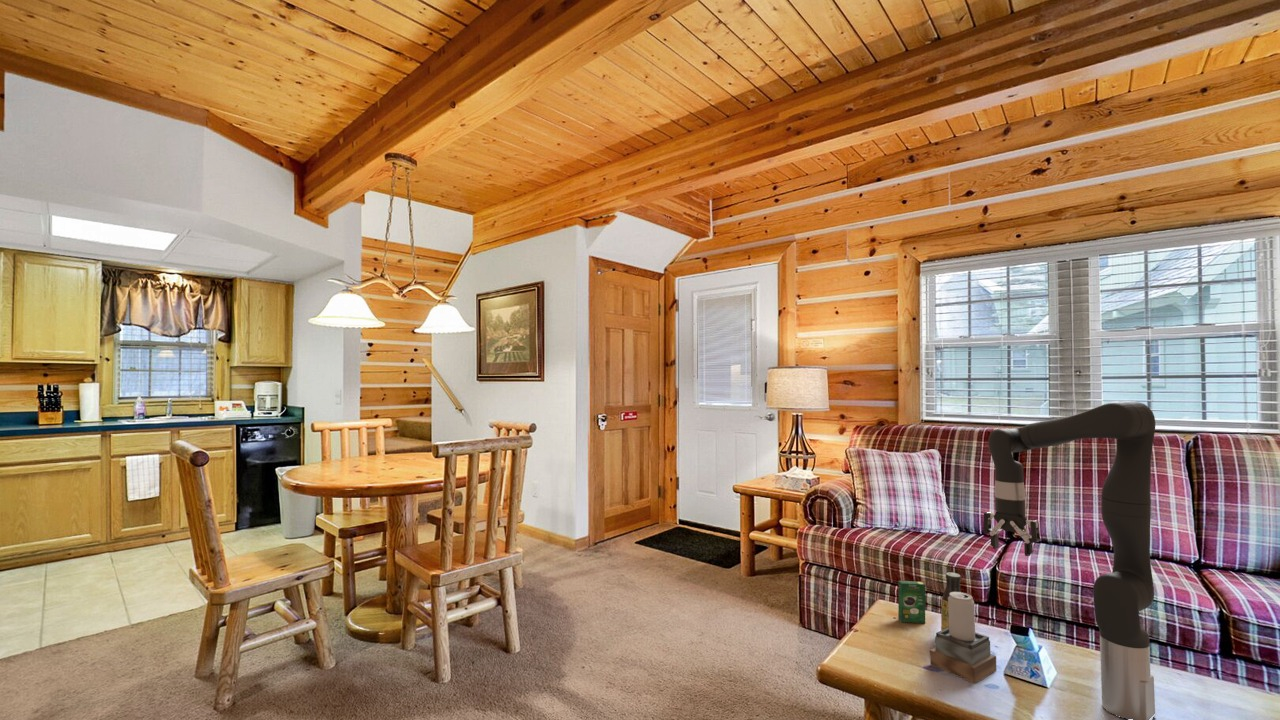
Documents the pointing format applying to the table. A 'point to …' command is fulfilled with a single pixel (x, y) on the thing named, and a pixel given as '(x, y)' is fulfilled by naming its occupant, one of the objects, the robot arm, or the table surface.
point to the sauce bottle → (951, 586)
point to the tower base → (963, 666)
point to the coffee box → (911, 602)
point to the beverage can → (961, 616)
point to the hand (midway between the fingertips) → (1011, 552)
